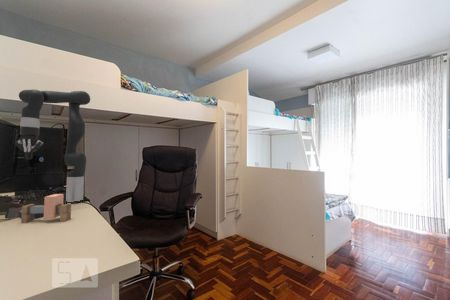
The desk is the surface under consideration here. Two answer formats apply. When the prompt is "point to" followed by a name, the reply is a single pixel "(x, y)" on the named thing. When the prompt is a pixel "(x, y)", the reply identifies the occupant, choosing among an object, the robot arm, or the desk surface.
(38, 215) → the calculator
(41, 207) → the grey metal bar
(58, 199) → the collar
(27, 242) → the desk surface
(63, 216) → the stand
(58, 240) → the desk surface
